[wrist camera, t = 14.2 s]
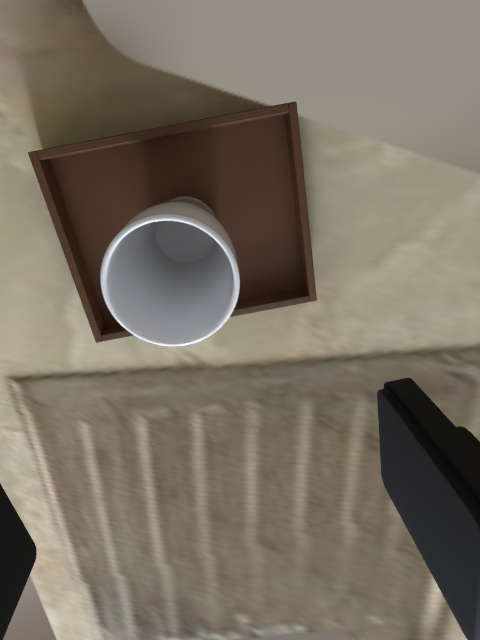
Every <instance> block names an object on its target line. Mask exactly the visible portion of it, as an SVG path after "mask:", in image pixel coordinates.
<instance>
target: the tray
mask: <svg viewBox="0 0 480 640" xmlns="http://www.w3.org/2000/svg"><path fill="white" fill-rule="evenodd" d="M28 154H29V157H30V160H31V163H32V165H33V168H34V171H35V174H36V176H37V179H38V182H39V185H40V188H41V190H42V193H43V196H44V199H45V201H46V204H47V207H48V210H49V213H50V215H51V218H52V221H53V224H54V227H55V229H56V232H57V235H58V238H59V240H60V243H61V246H62V249H63V252H64V254H65V257H66V260H67V263H68V265H69V268H70V271H71V274H72V277H73V279H74V282H75V285H76V288H77V291H78V293H79V296H80V299H81V302H82V304H83V307H84V310H85V313H86V316H87V318H88V321H89V324H90V327H91V329H92V332H93V335H94V338H95V341H96V343H97V342H102V341H107V340H112V339H118V338H123V337H128V336H133V334H131V333H130V332H128V331H127V330H126V329H125V328H124V327H122V326H121V325H120V324H119V323H118V321H117V320H116V319H115V318H114V317H113V315H112V314H111V312H110V310H109V309H108V307H107V305H106V302H105V300H104V297H103V294H102V289H101V282H100V273H101V265H102V261H103V258H104V255H105V252H106V250H107V248H108V246H109V245H110V243H111V242H112V240H113V239H114V238H115V236H116V235H117V234H118V233H119V231H120V230H121V229H122V228H123V227H124V226H125V225H126V224H127V223H128V222H129V221H130V220H131V219H132V218H133V217H135V216H136V215H137V214H139V213H140V212H142V211H143V210H145V209H147V208H149V207H152V206H154V205H157V204H160V203H164V202H167V201H169V200H171V199H173V198H176V197H182V196H187V197H193V198H196V199H199V200H201V201H202V202H204V203H205V204H206V205H208V206H209V207H210V208H211V210H212V211H213V212H214V214H215V216H216V218H217V219H218V220H219V221H220V223H221V224H222V225H223V227H224V228H225V230H226V231H227V233H228V234H229V236H230V238H231V241H232V243H233V246H234V248H235V252H236V255H237V260H238V266H239V276H240V289H239V296H238V300H237V303H236V306H235V308H234V310H233V312H232V314H231V316H230V317H233V316H238V315H244V314H249V313H254V312H259V311H264V310H270V309H275V308H280V307H285V306H291V305H296V304H301V303H306V302H312V301H316V300H317V298H316V289H315V279H314V269H313V259H312V250H311V240H310V230H309V220H308V211H307V201H306V191H305V181H304V172H303V162H302V152H301V142H300V133H299V123H298V113H297V104H296V102H291V103H285V104H281V105H275V106H269V107H264V108H259V109H254V110H248V111H243V112H238V113H233V114H227V115H222V116H217V117H212V118H206V119H201V120H196V121H191V122H185V123H180V124H175V125H169V126H164V127H159V128H154V129H148V130H143V131H138V132H133V133H127V134H122V135H117V136H112V137H106V138H101V139H96V140H91V141H85V142H80V143H75V144H70V145H64V146H59V147H54V148H49V149H43V150H38V151H33V152H28Z"/></svg>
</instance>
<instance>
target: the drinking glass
mask: <svg viewBox="0 0 480 640" xmlns="http://www.w3.org/2000/svg"><path fill="white" fill-rule="evenodd" d="M100 282H101V289H102V294H103V297H104V300H105V302H106V305H107V307H108V309H109V310H110V312H111V314H112V315H113V317H114V318H115V319H116V320H117V321H118V323H119V324H120V325H121V326H122V327H124V328H125V329H126V330H127V331H128V332H130V333H131V334H133V335H134V336H136V337H138V338H140V339H142V340H144V341H147V342H150V343H153V344H157V345H162V346H184V345H189V344H193V343H196V342H199V341H201V340H203V339H206V338H207V337H209V336H211V335H212V334H214V333H215V332H216V331H218V330H219V329H220V328H221V327H222V326H223V325H224V324H225V323H226V321H227V320H228V319H229V317H230V316H231V314H232V312H233V310H234V308H235V306H236V303H237V300H238V296H239V289H240V276H239V266H238V260H237V255H236V252H235V248H234V246H233V243H232V241H231V238H230V236H229V234H228V233H227V231H226V230H225V228H224V227H223V225H222V224H221V223H220V221H219V220H218V219H217V218H216V216H215V214H214V212H213V211H212V210H211V208H210V207H209V206H208V205H206V204H205V203H204V202H202V201H201V200H199V199H196V198H193V197H187V196H182V197H176V198H173V199H171V200H169V201H167V202H164V203H160V204H157V205H154V206H152V207H149V208H147V209H145V210H143V211H142V212H140V213H139V214H137V215H136V216H135V217H133V218H132V219H131V220H130V221H129V222H128V223H127V224H126V225H125V226H124V227H123V228H122V229H121V230H120V231H119V233H118V234H117V235H116V236H115V238H114V239H113V240H112V242H111V243H110V245H109V246H108V248H107V250H106V252H105V255H104V258H103V261H102V265H101V273H100Z"/></svg>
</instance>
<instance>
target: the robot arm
mask: <svg viewBox="0 0 480 640" xmlns="http://www.w3.org/2000/svg"><path fill="white" fill-rule="evenodd" d="M377 398H378V417H379V437H380V456H381V474H382V479H383V483H384V486H385V488H386V490H387V492H388V494H389V496H390V498H391V499H392V501H393V503H394V505H395V507H396V509H397V511H398V512H399V514H400V516H401V518H402V520H403V522H404V524H405V525H406V527H407V529H408V531H409V533H410V535H411V537H412V538H413V540H414V542H415V544H416V546H417V548H418V550H419V551H420V553H421V555H422V557H423V559H424V561H425V562H426V564H427V566H428V568H429V570H430V572H431V574H432V575H433V577H434V579H435V581H436V583H437V585H438V587H439V588H440V590H441V592H442V594H443V596H444V598H445V600H446V601H447V603H448V605H449V607H450V609H451V611H452V613H453V614H454V616H455V618H456V620H457V622H458V624H459V626H460V627H461V629H462V631H463V633H464V635H465V636H466V638H467V639H468V640H480V442H479V441H478V440H477V439H476V437H475V436H474V435H473V434H472V433H471V432H469V431H468V430H467V429H466V428H464V427H461V426H460V427H455V426H454V425H453V423H452V422H451V421H450V420H449V419H448V418H447V417H446V416H445V415H444V414H443V413H442V411H441V410H440V409H439V408H438V407H437V406H436V405H435V404H434V403H433V402H432V401H431V399H430V398H429V397H428V396H427V395H426V394H425V393H424V392H423V391H422V390H421V389H420V387H419V386H418V385H417V384H416V383H415V382H414V381H413V380H412V379H411V378H405V379H400V380H395V381H390V382H386V383H385V384H384V389H382V390H379V391H378V393H377ZM35 560H36V546H35V543H34V542H33V540H32V538H31V536H30V535H29V533H28V531H27V529H26V528H25V526H24V524H23V522H22V521H21V519H20V517H19V516H18V514H17V512H16V510H15V509H14V507H13V505H12V503H11V502H10V500H9V498H8V496H7V495H6V493H5V491H4V489H3V488H2V486H1V484H0V640H3V637H4V635H5V632H6V630H7V628H8V625H9V623H10V621H11V618H12V616H13V613H14V611H15V608H16V606H17V604H18V601H19V599H20V596H21V594H22V591H23V589H24V587H25V585H26V582H27V579H28V577H29V575H30V572H31V570H32V568H33V565H34V563H35Z"/></svg>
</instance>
